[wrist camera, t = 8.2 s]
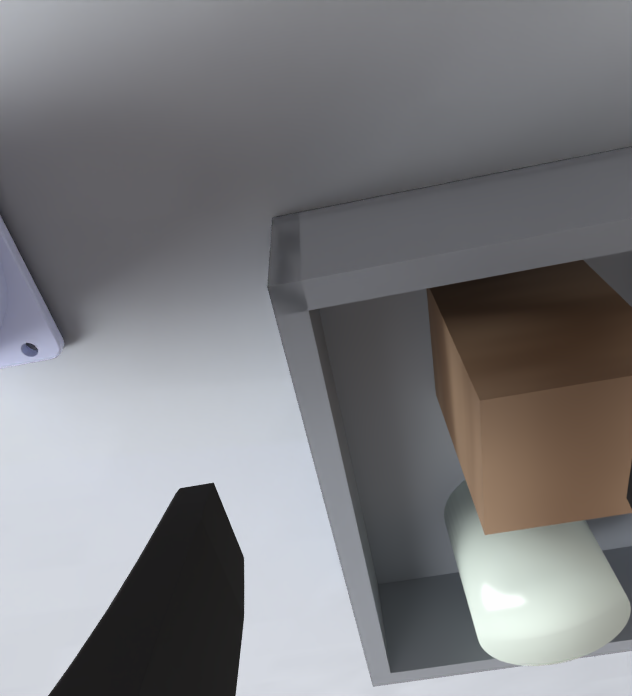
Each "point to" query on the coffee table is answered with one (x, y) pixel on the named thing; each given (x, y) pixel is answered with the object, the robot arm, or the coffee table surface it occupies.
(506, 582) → the pale green cylinder
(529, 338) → the walnut block
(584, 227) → the tote
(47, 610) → the coffee table surface
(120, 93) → the coffee table surface
